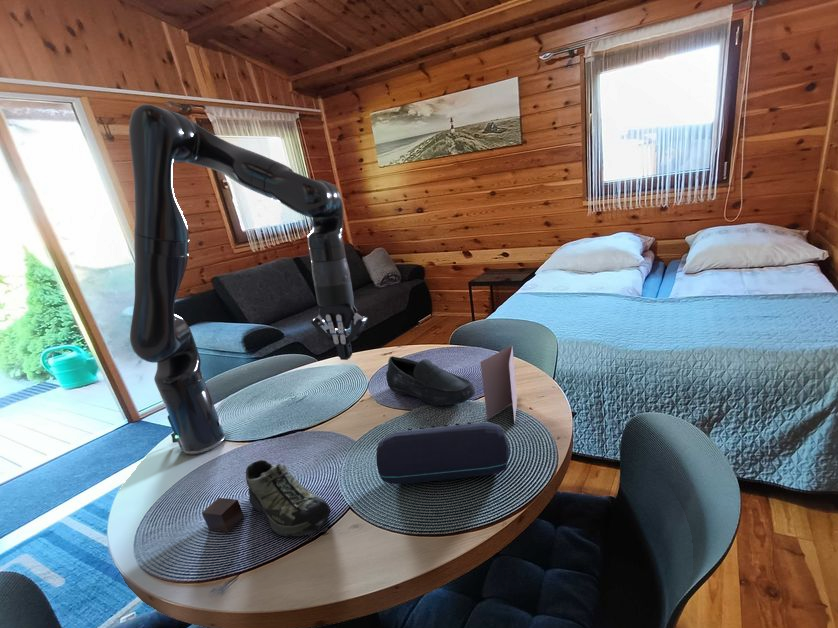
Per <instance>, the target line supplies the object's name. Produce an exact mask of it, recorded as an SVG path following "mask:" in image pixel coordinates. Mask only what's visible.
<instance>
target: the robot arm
mask: <svg viewBox="0 0 838 628" xmlns="http://www.w3.org/2000/svg"><path fill="white" fill-rule="evenodd" d="M128 137H129V147H130V156H131V166H132V175H133V189H134V190H133V191H134V229H133V232H134V233H133V234H134V235H133V236H134V237H133V251H134V300H133V301H134V302H133V309H132V317H131V324H130V331H129V343H130V346H131V348H132V350H133V352H134V354H135V355H136V356H137V357H138V358H140V359H141V360H143V361H145V362H148V363H153V364H154V363H157V364H156V372H155V375H154V377H153V378H154V379H153V381H154V384H155V386H156V388H157V391H158V393H159V396H160V398H161V400H162V402H163V404H164V408H165V409H166V412H167V414H168V415H167V420H168V422H169V425H170V427H171V430H172V433H170V436H171V441H172V443H173V444H174V443H175V444H176V443H177V444H178V446H179V449H180V450H181V451H183V453H184V454H186V455H188V456H189V455H191V456H193V455H194V456H195V455H199V454H203V453H206V452H209V451H211V450H214V449H216V448H217V447H218V446H220V445H221V444H223V443H224V442H225V441H226V439H227V435H226V432H225V431H224V429H223V428H224V427H223V426H222V418H221V416H219V415H218V412H217V409H216V406H215V404H214V401H213V399H212V396H211V393H210V391H209V388H208V386H207V383H206V381H205V378H204V375H203V371H202V369H201V368H202V367H201V365H202V363H201V356H200V353H199V350H198V347H197V344H196V341H195V338H194V334H193V333H192V330H191V328H190V327H189V325H188V323H187V322H186V321H185V320H184V319H183V318H182V317H181V316H179V315H177V314H175V304H176V299H177V295H178V292H179V290H180V287H181V284H182V282H183V279H184V276H185V273H186V270H187V266H188V261H189V260H188V259H189V243H190V242H189V241H190V235H189V228H188V225H187V221H186V219H185V217H184V215H183V211H182V210H181V208H180V206H179V204H178V202H177V199H176V197H175V193H174V188H173V163H186V164H191V165H196V166H199V167H204V168H208V169H210V170H213V171H216V172H218V173H221V174H222V175H224V176H226V177H228V178H229V179H231V180H233V181H234V182H236V183H237V184H238V185H240V186H242V187H244V188H245V189H248V190H250V191H252V192H255V193H257V194H259V195H262V196H264V197H267V198H269V199H271V200H275V201H277V202H279V203H280V204H282V205H284V206H285V207H287V208H288V209H289V210H292V211H293V212H295V213H297V214H299V215H302V216H304V217H308V218H311V220H312V221H311V222H312V230H311V231H310V233H309V234H308V235H307V246H308V252H309V258H310V262H311V275H312V281H313V286H314V287H313V288H314V291H315V298H316V302H317V305H318V306H319V309H318V315H317V316H316V317H315V318H313V319H311V321H310V323H311V325H312V326H313V327H314V328H315V329H316V330H317V331H318V333H320V334H321V336H322V337H323V338H324V339H325V340H326V342H331V343H334V344H335V347H336V352H337V357H338V358H339V359H340V360H341V361H348V360H349V359H350V358H351V357H352V355H353V350H352V344H351V342H353V341H355V340H356V339H358V337H360V335H361V333H362V331H363V330H364V327H365V326H366V325H367V323H368V317H367V316H362V315H360V314H359V313H358V310H357V308H356V306H355V304H354V303H355V298H354V297H355V296H354V291H353V290H354V289H353V284H352V278H351V272H350V266H349V264H348V261H347V260H348V259H347V255H346V254H347V253H346V247H345V242H344V235H343V234H344V202H343V198H342V195H341V192H340V190H339V188H338V187H337V186H336V185H335V184H334V183H332V182H331V181H328V180H323V179H314V178H310V177H308V176H305V175H302V174H300V173H298V172H295V171H294V170H293V169H292V168H291V167H289V166H287V165H285V164H283V163H281V162H279V161H276V160H275V159H271V158H270V157H267V156H265V155H262V154H260V153H256V152H255V151H252V150H249V149H246V148H243V147H241V146H238V145H235V144H233V143H231V142H228V141H226V140H224V139H222V138H221V137H219V136H217V135H215V134H213V133H212V132H210V131H208V130H207V129H205V128H203V127H202V126H201V125H199V124H198V123H196V122H194V121H193V120H192V119H190V118H188V117H186V116H185V115H183V114H182V113H178V112H176V111H173V110H169V109H167V108H163V107H160V106H158V105H154V104H149V103H144V104H140V105H139V106H137V107H136V108H134V110H133V111H132V113H131V115H130V118H129V123H128ZM352 324H353V328H352Z"/></svg>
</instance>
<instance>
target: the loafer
mask: <svg viewBox="0 0 838 628" xmlns="http://www.w3.org/2000/svg"><path fill="white" fill-rule="evenodd" d="M385 376H386V377H385V378H386V382H387V387H388V388H389V389H390V390H391V391H392V392H394V393H396V394H399V395H403V396H413V397H416V398H418V399H420V400H421V401H424V402H426V403H427V404H429V405H434V406H452V405H453V406H454V405H457V404H461V403H464V402H466V401H468V400H469V399H471V398H472V397H474V396H475V395H476V388H475V385H474V383H473V382H471V381H470V380H468V379H466V378H464V377H462V376H459V375H456V374H454V373H452V372H449V371H447V370H445V369H443V368H441V367H439V366H437V365H436V364H434V363H433V362H432V361H431V360H430V359H429V358H423V359H421V360H420V361H416V360H413V359H409V358H404V357H397V356H393V355H392V356H390V357H389V358H388V360H387V370H386V371H385Z"/></svg>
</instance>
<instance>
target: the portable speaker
mask: <svg viewBox="0 0 838 628" xmlns="http://www.w3.org/2000/svg"><path fill="white" fill-rule="evenodd" d="M508 440H509V439H508V437H507V435H506V433H505V431H504V428H503V427H502V425H499V424H497V423H492V422H490V421H483V422H481V421H480V422H474V423H472V422H471V421H469V422H468V421H467V422H466V423H462V424H460V423H455V424H453V425H448V424H443V425H442V426H436V425H432V426H431V427H423V426H421V427H419V428H418V429H417V428H415V429H413V428H408V429H406V430H398V431H397V430H396V431H393V432H391V433H389V434H387V435H385V436H384V437H382V438H381V439H380V441H379V442H378V444H377V447H376V452H375V453H376V454H375V455H376V467H377V472H378V474H379V477H380V479H381V480H382V481H383V482H384V483H386V484H395V485H396V484H397V485H407V484H417V483H418V484H419V483H426V482H436V481H445V480H446V481H447V480H455V479H456V480H457V479H464V478H474V477H482V476H483V477H484V476H491V475H495V474H499V473H502V472H504V471H506V469H507V467H508V460H509V457H510V447H509V441H508Z"/></svg>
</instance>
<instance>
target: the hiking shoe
mask: <svg viewBox="0 0 838 628" xmlns="http://www.w3.org/2000/svg"><path fill="white" fill-rule="evenodd" d="M245 482H246V485H247V487H248V495H249V497H248V499H249V503H250V505H251V506H252V508H253V509H255V510H256V511H258V512H261V513H262V512H263V513H264V514H265V515H266V517H267V518H268V523H269V526H270V528H271V529H272V531H273V532H274V533H275V534H277V536H280V537H281V536H282V537H283V536H284V537H287V538H288V537H302V536H307V535H308V536H309V535H312V534H314V533H316V532H318V531H320V530H321V529H322V528H323V527H324V525H325V524H326V522H327V520H328V519H329V517H330V515H331V512H332V510H331V506H330V505H329V504H328V503H327V501H325V499H324V498H323V497H320V496H319V495H317V494H316V493H314V492H312V491H311V490H309V489H308V488H306V487H305V486H303V485H302V484H301V483H299V480H298V479H297V478H295V477H294V475H293V474H292V473H291V472H290V470H289V468H288V467H287V466H286V465H285V464H283V463H277V464H272V463H270V462H269V461H267V460H265V459H259V460H256V461H254V462H252V463H250V464H249V465H247V467H246V469H245Z"/></svg>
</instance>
